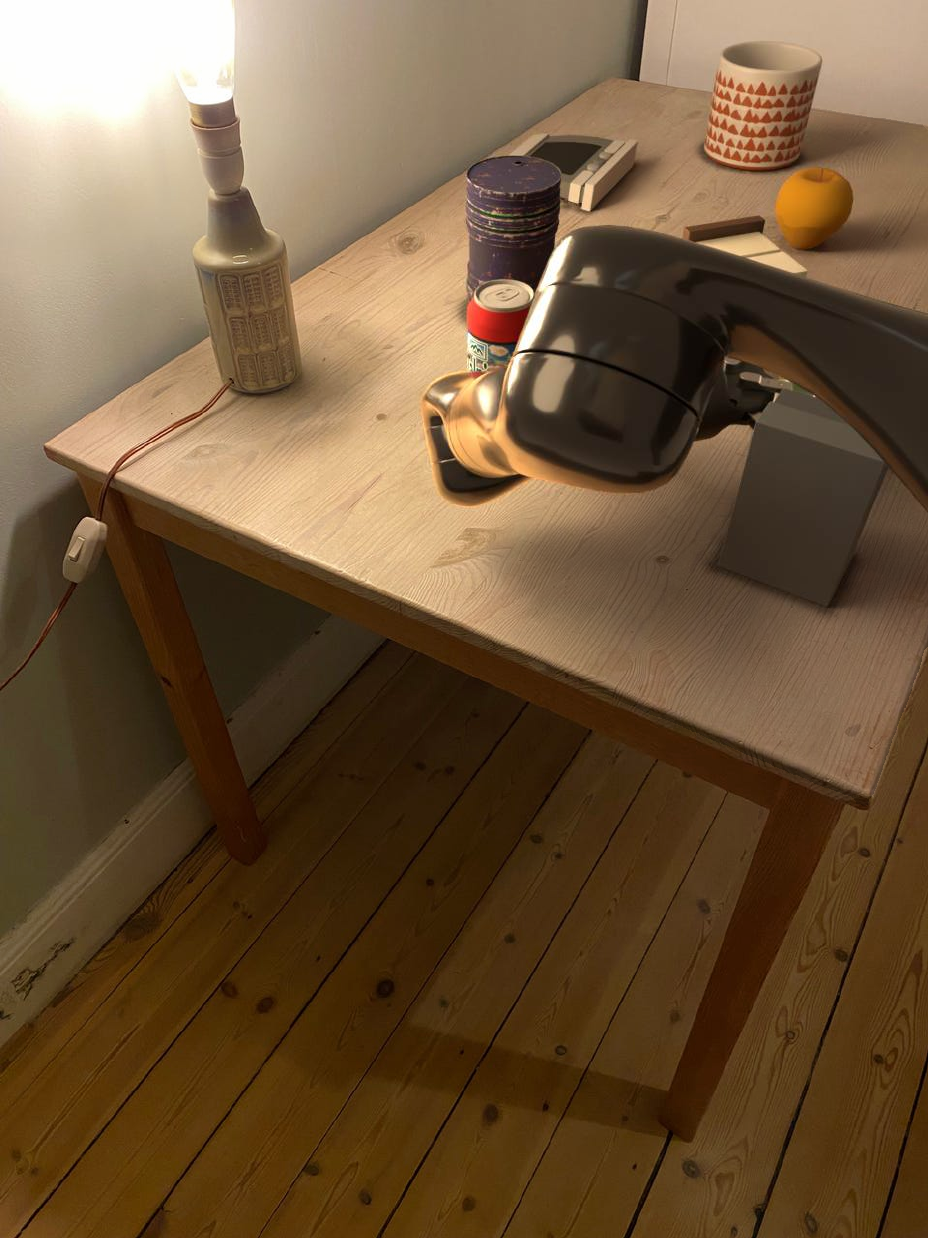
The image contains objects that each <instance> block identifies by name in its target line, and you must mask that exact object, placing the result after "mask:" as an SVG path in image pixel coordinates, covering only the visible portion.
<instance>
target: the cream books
mask: <svg viewBox="0 0 928 1238" xmlns="http://www.w3.org/2000/svg"><path fill="white" fill-rule="evenodd" d="M765 224H766V219H765V218H763V216H761V215H760V214H759V215H752V216H746V217H740V218H733V219H727V220H721V221H717V222H716V221H715V222H709V223H703V224H702V223H701V224H696V225H695V224H694V225H690V226H685V227H683V231H682V237H681V238H683V239H686V240H690V241H693V242H696V243H700V244H703V245H706V246H710V247H713V248H716V249H720V250H723V251H726V252H729V253H732V254H735V255H738V256H742V257H745V258H748V259H751V260H754V261H757V262H760V263H763V264H766V265H769V266H772V267H776V268H779V269H782V270H785V271H788V272H791V273H794V274H797V275H800V276H803V277H807V275H808V270H807V269H806V268H805V267H804V266H803V265H801V264H800V263H799V262H798V261H796V260H795V259H794V258H792V256H790V255H789V254H788V253H787V252H786V251H782V250H781V248H780V247H779V246H778V245H776V244H775V243H774V242H773V241H771V240H770V239H768V238H767V236H765V235H764V229H765ZM763 370H764V372H765V373H766V374H768V375H769V376H771V377H772V378H773V379H775V380H779V379H780V376H778V375H776V374H774V373H771V372H769V371H767V370H765V369H763Z"/></svg>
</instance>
